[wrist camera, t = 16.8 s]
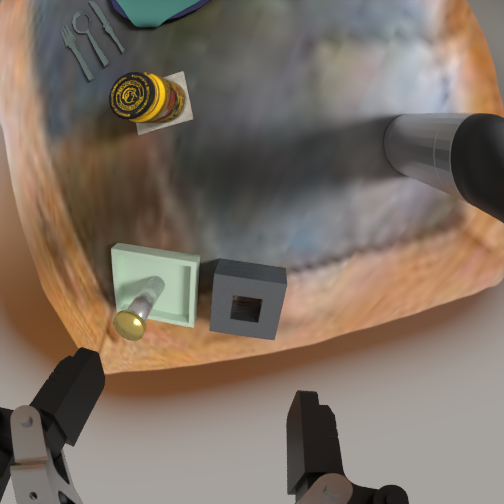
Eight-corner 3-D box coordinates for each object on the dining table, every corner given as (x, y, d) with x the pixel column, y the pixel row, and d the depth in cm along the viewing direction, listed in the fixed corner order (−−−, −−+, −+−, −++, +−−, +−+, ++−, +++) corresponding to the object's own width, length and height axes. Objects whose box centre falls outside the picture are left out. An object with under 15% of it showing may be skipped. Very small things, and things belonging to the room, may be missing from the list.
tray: (200, 255, 45) (196, 262, 43) (196, 318, 50) (193, 327, 47) (117, 242, 45) (111, 248, 42) (122, 304, 50) (117, 311, 47)
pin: (169, 274, 46) (142, 317, 35) (169, 297, 47) (144, 343, 36) (143, 269, 46) (111, 310, 35) (144, 293, 47) (115, 336, 36)
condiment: (193, 119, 37) (164, 115, 26) (138, 135, 38) (95, 140, 27) (183, 71, 34) (152, 51, 23) (129, 89, 35) (84, 81, 24)
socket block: (285, 268, 45) (287, 284, 40) (274, 321, 49) (274, 340, 44) (219, 258, 45) (214, 273, 40) (214, 312, 49) (209, 330, 44)
